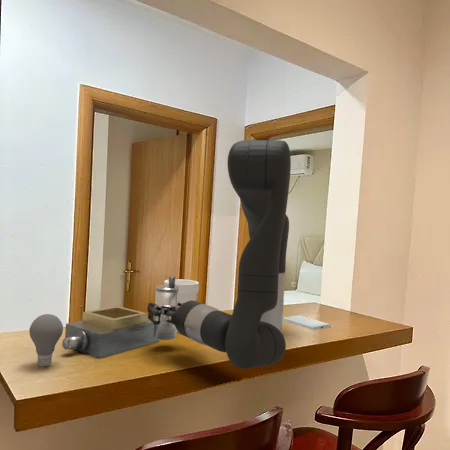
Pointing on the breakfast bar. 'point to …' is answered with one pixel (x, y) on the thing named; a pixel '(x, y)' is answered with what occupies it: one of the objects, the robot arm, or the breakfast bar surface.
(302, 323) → the hard drive
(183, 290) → the foam cup
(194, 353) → the breakfast bar surface
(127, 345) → the gearbox
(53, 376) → the breakfast bar surface
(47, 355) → the light bulb
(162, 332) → the spout can
